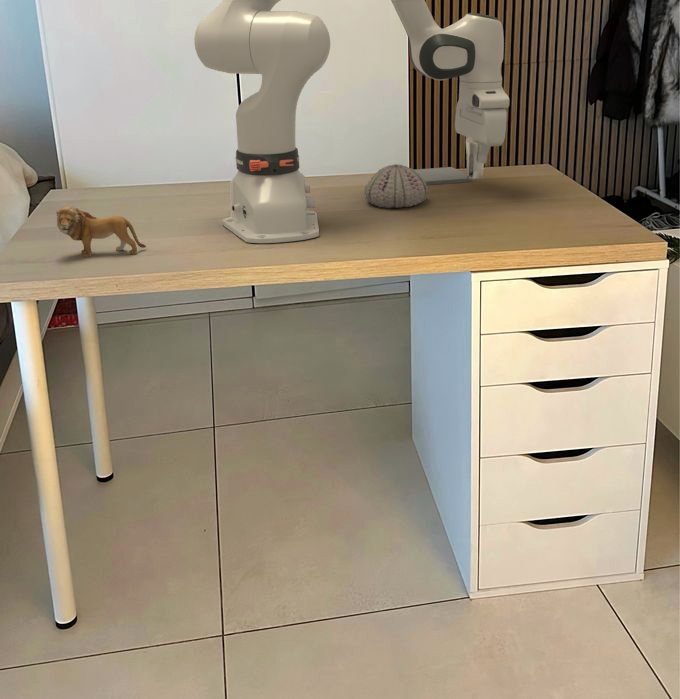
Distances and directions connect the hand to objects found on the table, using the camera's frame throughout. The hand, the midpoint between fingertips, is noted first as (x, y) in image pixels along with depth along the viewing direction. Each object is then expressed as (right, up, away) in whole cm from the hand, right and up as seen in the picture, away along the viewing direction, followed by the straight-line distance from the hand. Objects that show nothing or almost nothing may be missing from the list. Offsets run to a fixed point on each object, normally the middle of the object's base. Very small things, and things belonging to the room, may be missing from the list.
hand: (477, 160), depth 198 cm
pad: (-7, -1, +16) cm, 17 cm away
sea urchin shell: (-18, -10, -5) cm, 21 cm away
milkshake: (0, -4, +1) cm, 4 cm away
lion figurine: (-72, -24, -36) cm, 84 cm away
